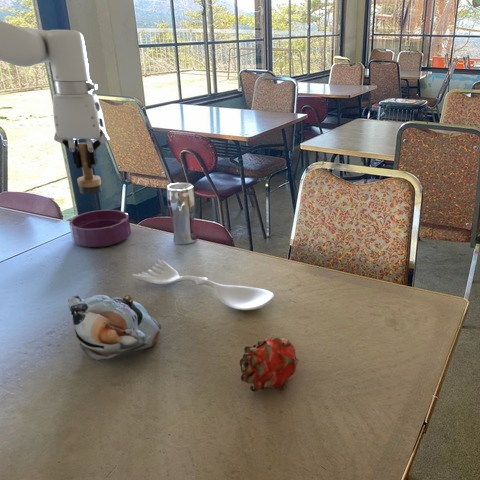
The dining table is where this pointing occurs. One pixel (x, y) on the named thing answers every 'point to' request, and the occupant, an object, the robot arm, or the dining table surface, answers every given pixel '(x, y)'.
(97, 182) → the dish brush
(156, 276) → the spoon
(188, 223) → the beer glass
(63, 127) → the robot arm
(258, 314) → the dining table surface
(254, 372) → the dragon fruit
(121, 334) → the lucky cat figurine
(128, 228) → the bowl
